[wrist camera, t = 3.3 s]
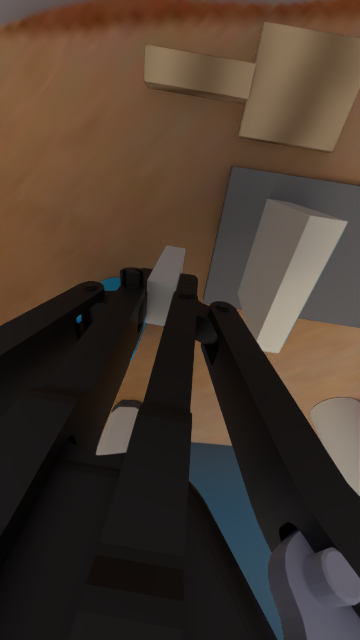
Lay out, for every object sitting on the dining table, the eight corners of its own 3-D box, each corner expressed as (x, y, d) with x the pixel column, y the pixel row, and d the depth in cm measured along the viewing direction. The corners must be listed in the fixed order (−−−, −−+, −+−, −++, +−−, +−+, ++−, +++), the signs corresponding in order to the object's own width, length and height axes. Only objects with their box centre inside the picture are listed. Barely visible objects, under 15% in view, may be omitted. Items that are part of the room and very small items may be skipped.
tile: (237, 293, 26) (252, 349, 18) (267, 198, 20) (310, 215, 12) (257, 296, 26) (282, 354, 18) (293, 202, 20) (354, 222, 12)
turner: (146, 122, 19) (142, 118, 18) (151, 10, 16) (146, -5, 14) (327, 152, 19) (336, 151, 18) (370, 48, 16) (385, 37, 14)
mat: (203, 298, 28) (203, 302, 27) (231, 166, 20) (232, 166, 19) (356, 322, 28) (362, 328, 27) (445, 200, 20) (458, 201, 19)
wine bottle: (111, 416, 46) (0, 703, 21) (116, 394, 41) (-17, 725, 16) (147, 426, 47) (82, 714, 22) (157, 405, 42) (88, 738, 17)
